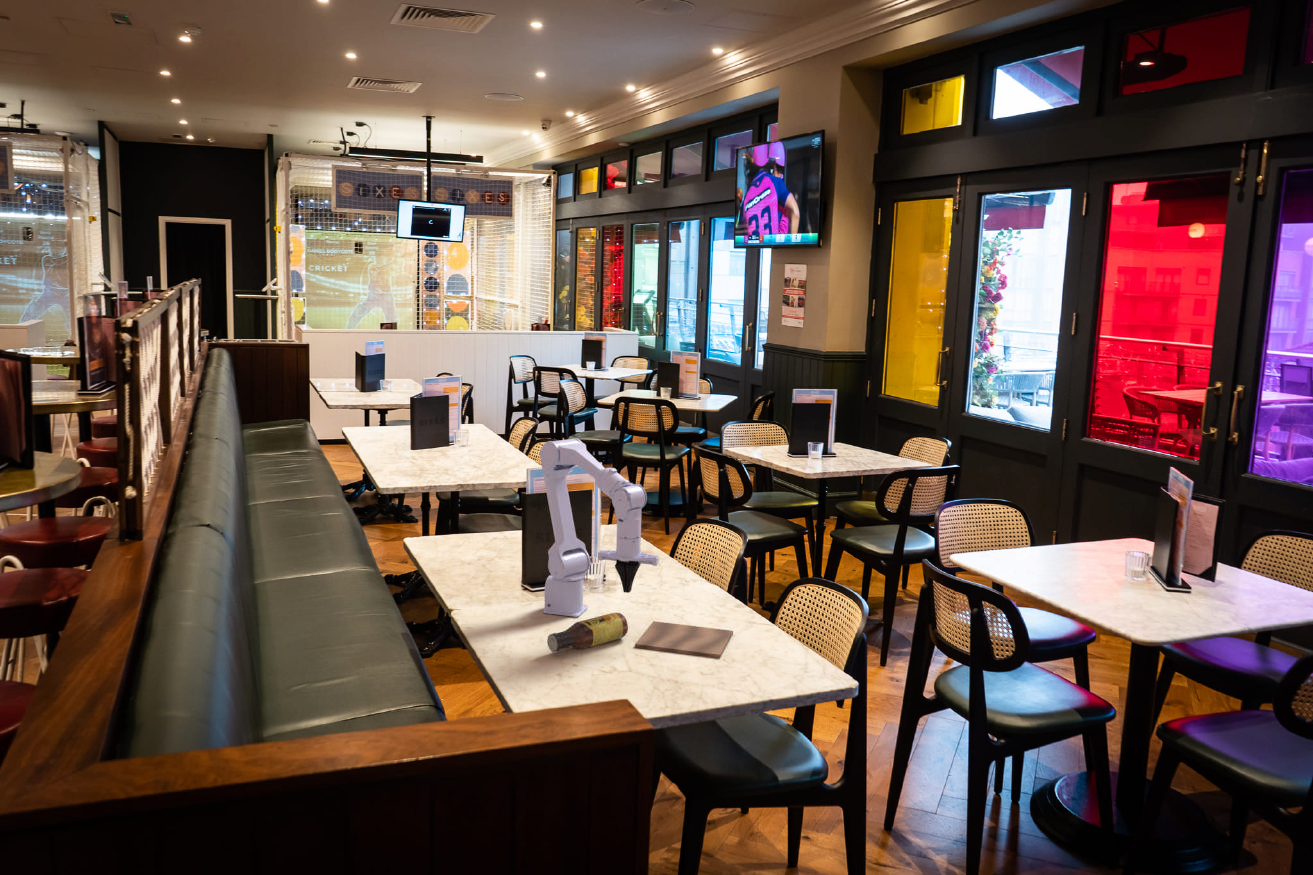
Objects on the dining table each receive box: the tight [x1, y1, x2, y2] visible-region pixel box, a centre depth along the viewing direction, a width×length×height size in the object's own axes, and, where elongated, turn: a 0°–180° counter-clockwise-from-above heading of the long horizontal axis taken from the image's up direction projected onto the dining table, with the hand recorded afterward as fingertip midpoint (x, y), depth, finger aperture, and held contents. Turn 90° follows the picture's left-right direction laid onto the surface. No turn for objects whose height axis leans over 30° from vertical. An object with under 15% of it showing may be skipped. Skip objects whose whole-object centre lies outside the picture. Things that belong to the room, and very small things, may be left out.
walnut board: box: [634, 620, 734, 659], centre depth 221 cm, size 20×16×1 cm
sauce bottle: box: [546, 612, 629, 653], centre depth 216 cm, size 7×6×20 cm
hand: (627, 591), depth 223 cm, fingers closed
